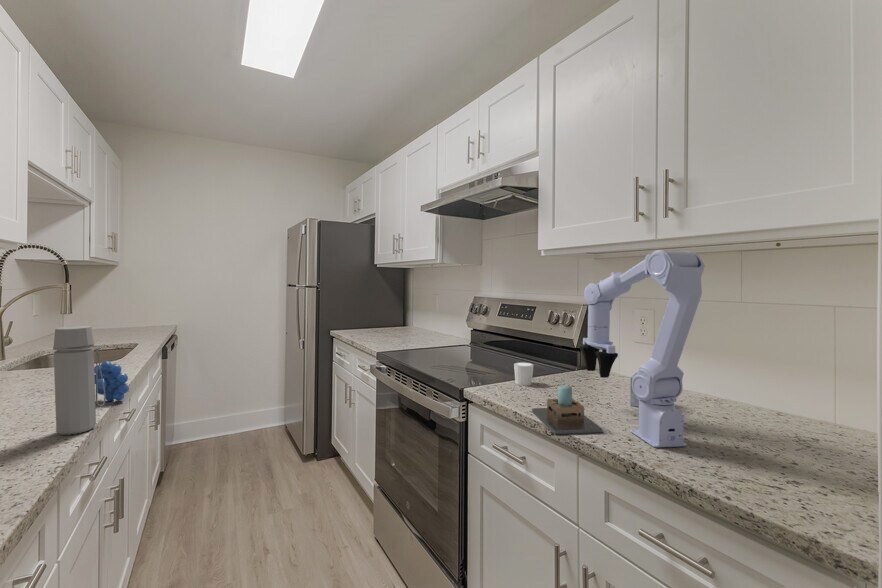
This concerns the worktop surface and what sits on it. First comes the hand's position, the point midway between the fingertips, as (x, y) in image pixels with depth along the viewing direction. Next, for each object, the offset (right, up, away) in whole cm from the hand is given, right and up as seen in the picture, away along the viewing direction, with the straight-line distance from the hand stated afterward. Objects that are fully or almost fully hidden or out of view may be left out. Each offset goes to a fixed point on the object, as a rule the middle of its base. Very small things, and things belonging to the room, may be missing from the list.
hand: (597, 373), depth 112 cm
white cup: (-15, -9, +28) cm, 33 cm away
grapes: (-143, -10, +5) cm, 144 cm away
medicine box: (+15, -11, +6) cm, 20 cm away
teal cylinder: (-12, -10, -9) cm, 18 cm away
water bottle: (-132, -10, -16) cm, 133 cm away
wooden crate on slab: (-12, -11, -9) cm, 18 cm away
